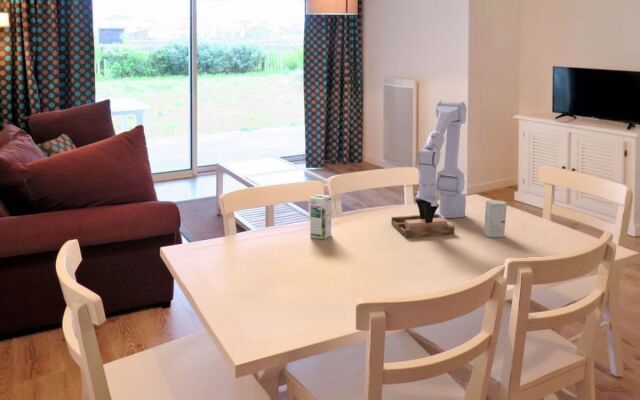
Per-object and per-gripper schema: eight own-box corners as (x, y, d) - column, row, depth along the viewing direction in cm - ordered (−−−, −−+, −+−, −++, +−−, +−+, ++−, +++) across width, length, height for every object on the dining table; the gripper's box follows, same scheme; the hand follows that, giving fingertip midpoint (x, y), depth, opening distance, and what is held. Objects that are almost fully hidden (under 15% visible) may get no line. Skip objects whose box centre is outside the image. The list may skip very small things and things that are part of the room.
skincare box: (488, 237, 226) (490, 204, 222) (483, 233, 230) (485, 200, 227) (505, 236, 226) (507, 203, 223) (499, 232, 231) (502, 199, 228)
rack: (437, 221, 244) (437, 213, 243) (454, 234, 230) (454, 226, 229) (391, 224, 241) (391, 217, 240) (405, 238, 226) (405, 229, 225)
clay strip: (442, 226, 235) (442, 217, 234) (446, 230, 231) (447, 220, 230) (405, 229, 232) (405, 220, 231) (408, 233, 228) (409, 223, 227)
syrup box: (309, 237, 227) (309, 197, 224) (317, 232, 232) (317, 193, 229) (324, 240, 225) (323, 199, 221) (332, 235, 230) (331, 195, 226)
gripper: (409, 179, 233) (408, 215, 237) (424, 189, 219) (422, 227, 223) (428, 177, 234) (426, 214, 238) (443, 187, 221) (442, 226, 224)
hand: (426, 220), depth 231 cm, fingers open, 4 cm apart
